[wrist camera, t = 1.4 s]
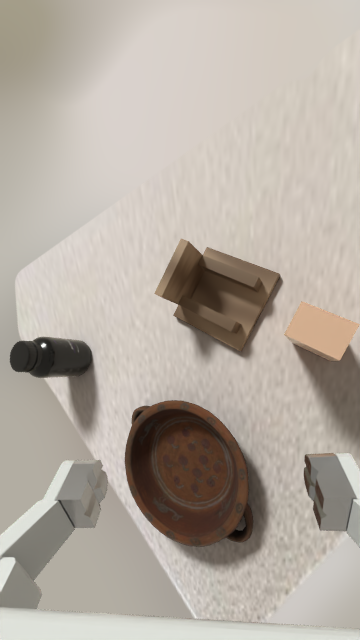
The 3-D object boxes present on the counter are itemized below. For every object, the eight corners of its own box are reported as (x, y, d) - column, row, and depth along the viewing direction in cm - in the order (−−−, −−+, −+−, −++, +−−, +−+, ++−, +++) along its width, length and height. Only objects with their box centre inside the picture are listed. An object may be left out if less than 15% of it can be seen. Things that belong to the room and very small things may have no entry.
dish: (172, 364, 44) (156, 365, 39) (296, 471, 34) (294, 487, 30) (117, 448, 46) (96, 457, 42) (219, 569, 36) (206, 598, 32)
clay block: (304, 319, 36) (301, 301, 25) (344, 336, 34) (359, 324, 23) (292, 342, 36) (284, 334, 26) (330, 361, 34) (339, 360, 23)
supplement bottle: (94, 341, 51) (37, 335, 41) (90, 378, 50) (30, 382, 40) (68, 339, 54) (8, 333, 44) (64, 374, 53) (2, 376, 43)
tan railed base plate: (209, 249, 44) (186, 223, 36) (280, 275, 38) (271, 252, 30) (176, 316, 44) (146, 306, 36) (241, 351, 39) (222, 348, 31)
